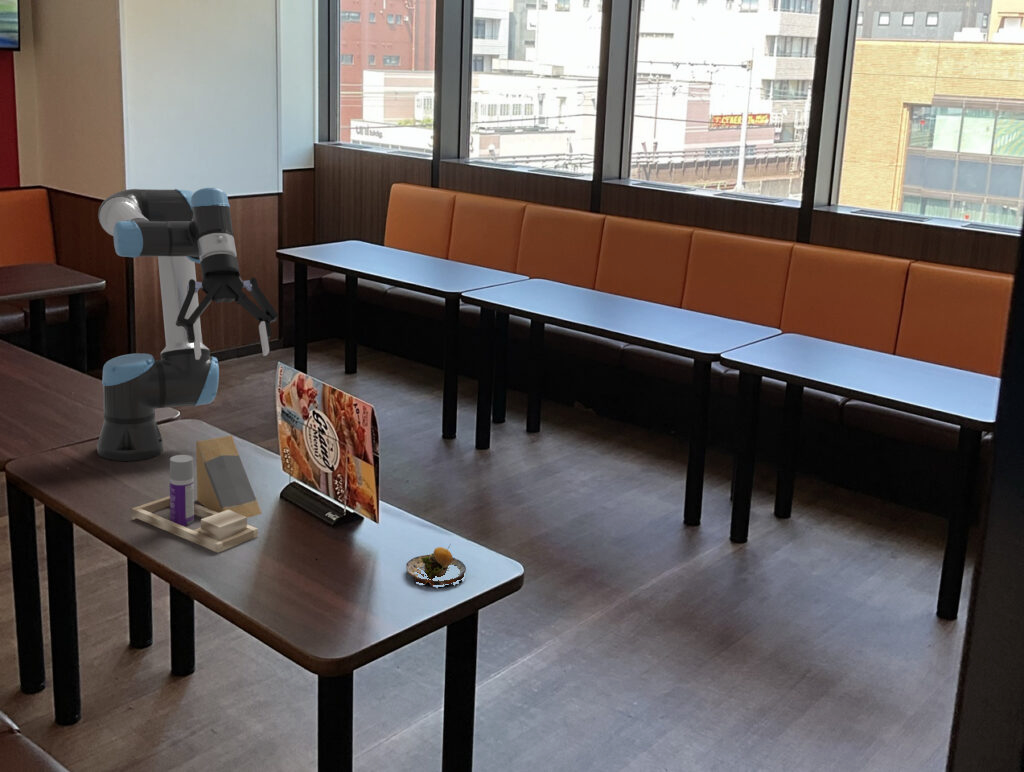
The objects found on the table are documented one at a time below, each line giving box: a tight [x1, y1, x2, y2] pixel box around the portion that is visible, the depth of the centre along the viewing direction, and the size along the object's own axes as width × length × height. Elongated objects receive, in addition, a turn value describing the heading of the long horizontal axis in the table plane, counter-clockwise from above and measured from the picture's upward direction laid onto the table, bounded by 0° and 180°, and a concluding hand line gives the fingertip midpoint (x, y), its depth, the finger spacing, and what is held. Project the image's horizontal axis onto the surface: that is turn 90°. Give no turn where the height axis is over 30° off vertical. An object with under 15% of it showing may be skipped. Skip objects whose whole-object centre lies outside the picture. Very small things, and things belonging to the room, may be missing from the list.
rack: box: [131, 495, 259, 554], centre depth 220 cm, size 26×10×3 cm, turn 56°
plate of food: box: [406, 543, 467, 587], centre depth 209 cm, size 12×12×8 cm
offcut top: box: [200, 510, 248, 537], centre depth 215 cm, size 6×7×2 cm
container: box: [169, 454, 195, 527], centre depth 220 cm, size 5×5×15 cm
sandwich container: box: [195, 435, 263, 519], centre depth 228 cm, size 9×15×15 cm, turn 42°
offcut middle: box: [200, 527, 246, 541], centre depth 215 cm, size 6×7×2 cm
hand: (232, 355), depth 218 cm, fingers open, 13 cm apart
